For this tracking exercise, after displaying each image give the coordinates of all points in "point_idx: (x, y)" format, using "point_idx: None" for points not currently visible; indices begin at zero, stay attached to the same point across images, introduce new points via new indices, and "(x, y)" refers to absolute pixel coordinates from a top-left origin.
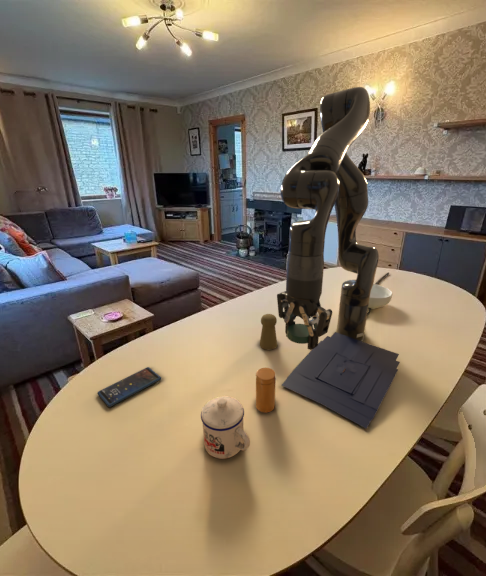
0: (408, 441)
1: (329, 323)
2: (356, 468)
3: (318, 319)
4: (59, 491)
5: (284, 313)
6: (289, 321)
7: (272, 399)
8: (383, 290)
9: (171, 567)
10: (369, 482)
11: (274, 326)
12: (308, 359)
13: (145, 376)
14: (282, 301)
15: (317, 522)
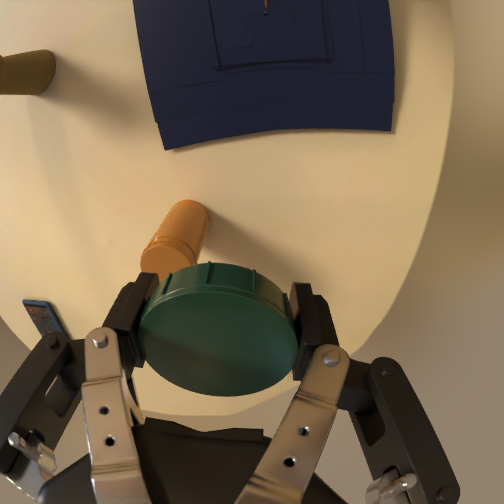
0: (448, 111)
1: (428, 421)
2: (399, 217)
3: (334, 418)
4: (164, 406)
5: (73, 383)
6: (131, 373)
7: (204, 234)
8: None
9: (284, 390)
10: (418, 225)
11: (7, 63)
12: (150, 30)
13: (39, 315)
14: (56, 467)
15: (377, 306)
